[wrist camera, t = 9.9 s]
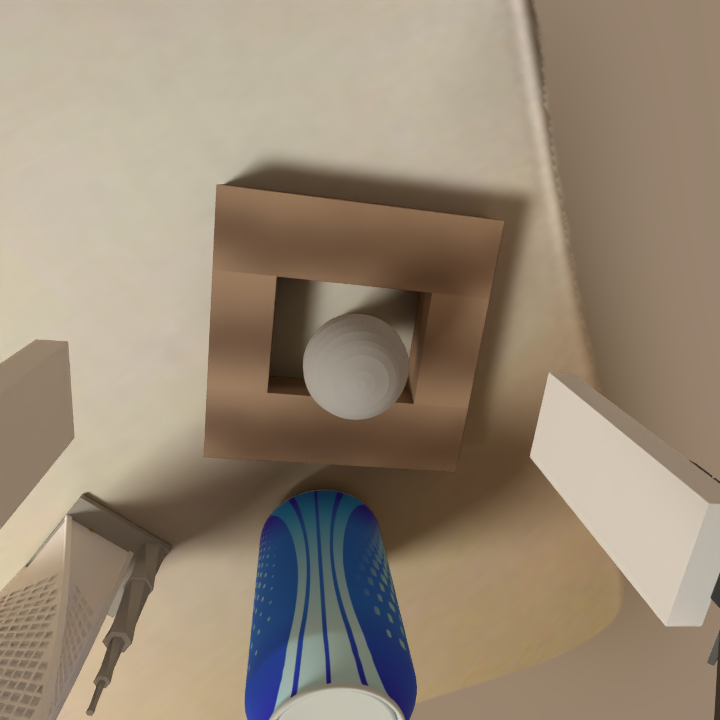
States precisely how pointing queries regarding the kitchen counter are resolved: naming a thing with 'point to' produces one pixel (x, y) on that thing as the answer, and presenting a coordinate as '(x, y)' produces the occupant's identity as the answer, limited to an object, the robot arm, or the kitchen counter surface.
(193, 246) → the kitchen counter surface
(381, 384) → the light bulb
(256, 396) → the holder
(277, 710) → the beer can
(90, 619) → the skyscraper
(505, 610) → the kitchen counter surface
